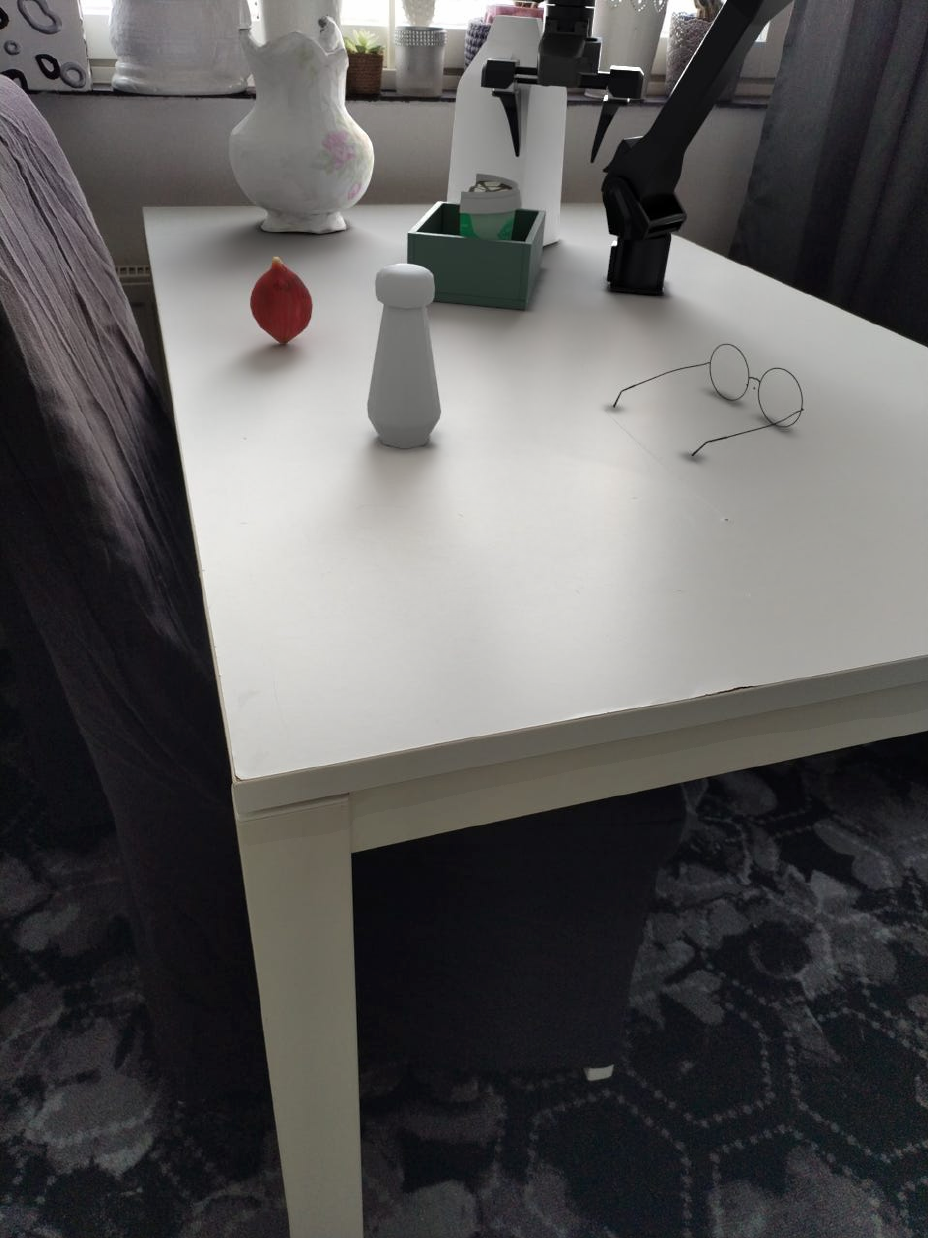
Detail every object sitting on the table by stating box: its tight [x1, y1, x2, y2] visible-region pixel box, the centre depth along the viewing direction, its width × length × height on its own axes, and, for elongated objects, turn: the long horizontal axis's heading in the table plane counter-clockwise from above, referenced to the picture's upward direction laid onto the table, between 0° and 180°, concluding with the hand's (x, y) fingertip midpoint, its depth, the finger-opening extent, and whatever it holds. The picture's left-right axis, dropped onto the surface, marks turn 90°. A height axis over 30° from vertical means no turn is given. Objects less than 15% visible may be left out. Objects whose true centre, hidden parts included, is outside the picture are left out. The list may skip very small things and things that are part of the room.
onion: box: [249, 256, 314, 345], centre depth 84 cm, size 6×6×8 cm
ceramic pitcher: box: [228, 14, 375, 235], centre depth 120 cm, size 22×20×25 cm
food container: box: [460, 174, 522, 241], centre depth 103 cm, size 12×6×10 cm, turn 171°
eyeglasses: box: [612, 343, 805, 457], centre depth 74 cm, size 11×13×5 cm
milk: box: [446, 14, 568, 247], centre depth 117 cm, size 12×12×26 cm
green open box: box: [406, 200, 546, 311], centre depth 105 cm, size 14×18×7 cm
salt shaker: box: [366, 263, 442, 450], centre depth 67 cm, size 6×6×13 cm
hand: (554, 159), depth 109 cm, fingers open, 9 cm apart
